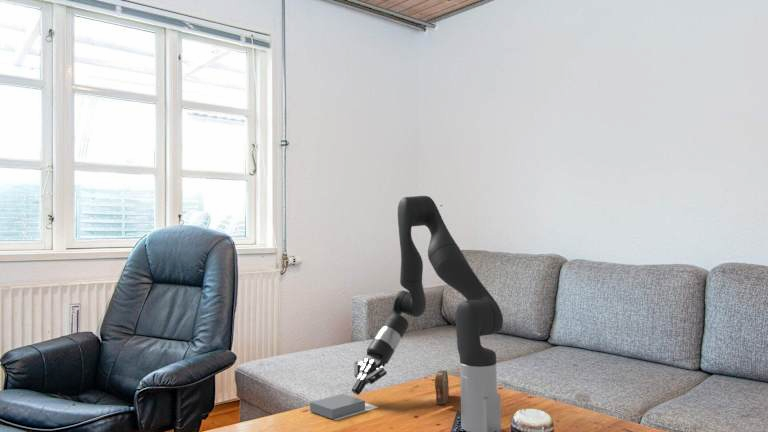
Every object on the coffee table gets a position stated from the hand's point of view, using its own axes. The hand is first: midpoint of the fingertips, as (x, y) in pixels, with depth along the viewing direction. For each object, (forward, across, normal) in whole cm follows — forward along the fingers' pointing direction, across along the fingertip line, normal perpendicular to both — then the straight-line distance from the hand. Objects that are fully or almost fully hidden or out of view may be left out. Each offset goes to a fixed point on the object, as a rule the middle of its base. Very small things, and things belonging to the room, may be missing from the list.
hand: (354, 392), depth 163 cm
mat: (+6, 0, 0) cm, 6 cm away
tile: (+2, 0, +1) cm, 2 cm away
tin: (-13, +14, +20) cm, 27 cm away
